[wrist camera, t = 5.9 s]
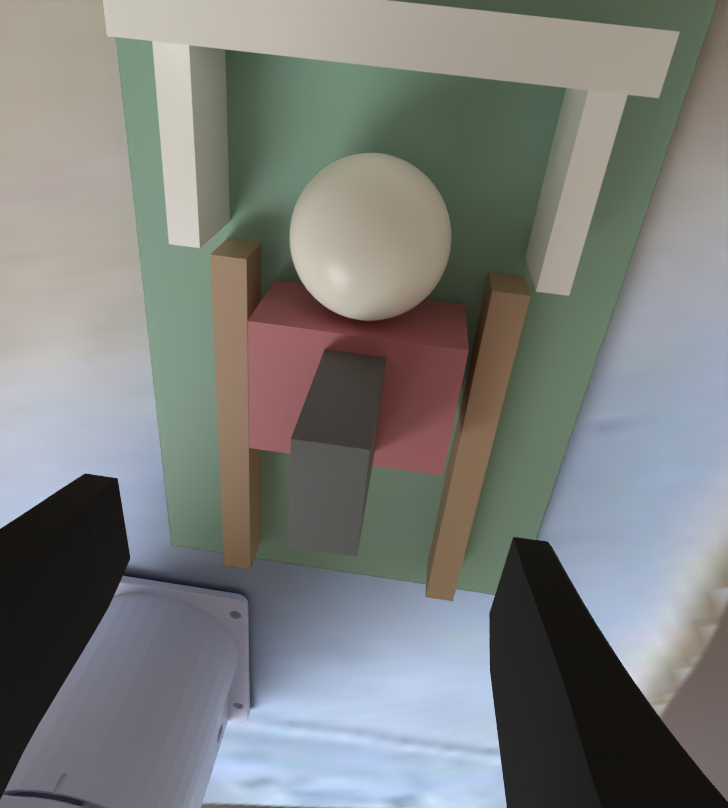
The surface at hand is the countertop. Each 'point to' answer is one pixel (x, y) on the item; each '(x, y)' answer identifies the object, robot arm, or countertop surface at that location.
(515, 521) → the pitch
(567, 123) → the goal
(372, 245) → the ball
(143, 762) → the robot arm
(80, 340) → the countertop surface
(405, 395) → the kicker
